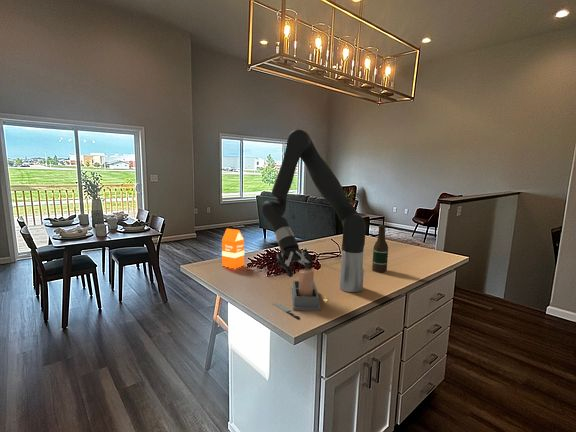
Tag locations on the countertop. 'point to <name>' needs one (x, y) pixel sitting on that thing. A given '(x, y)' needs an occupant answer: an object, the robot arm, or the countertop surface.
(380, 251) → the beer bottle
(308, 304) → the box
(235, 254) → the orange juice
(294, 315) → the chef's knife
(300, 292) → the tan cylinder
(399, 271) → the countertop surface
